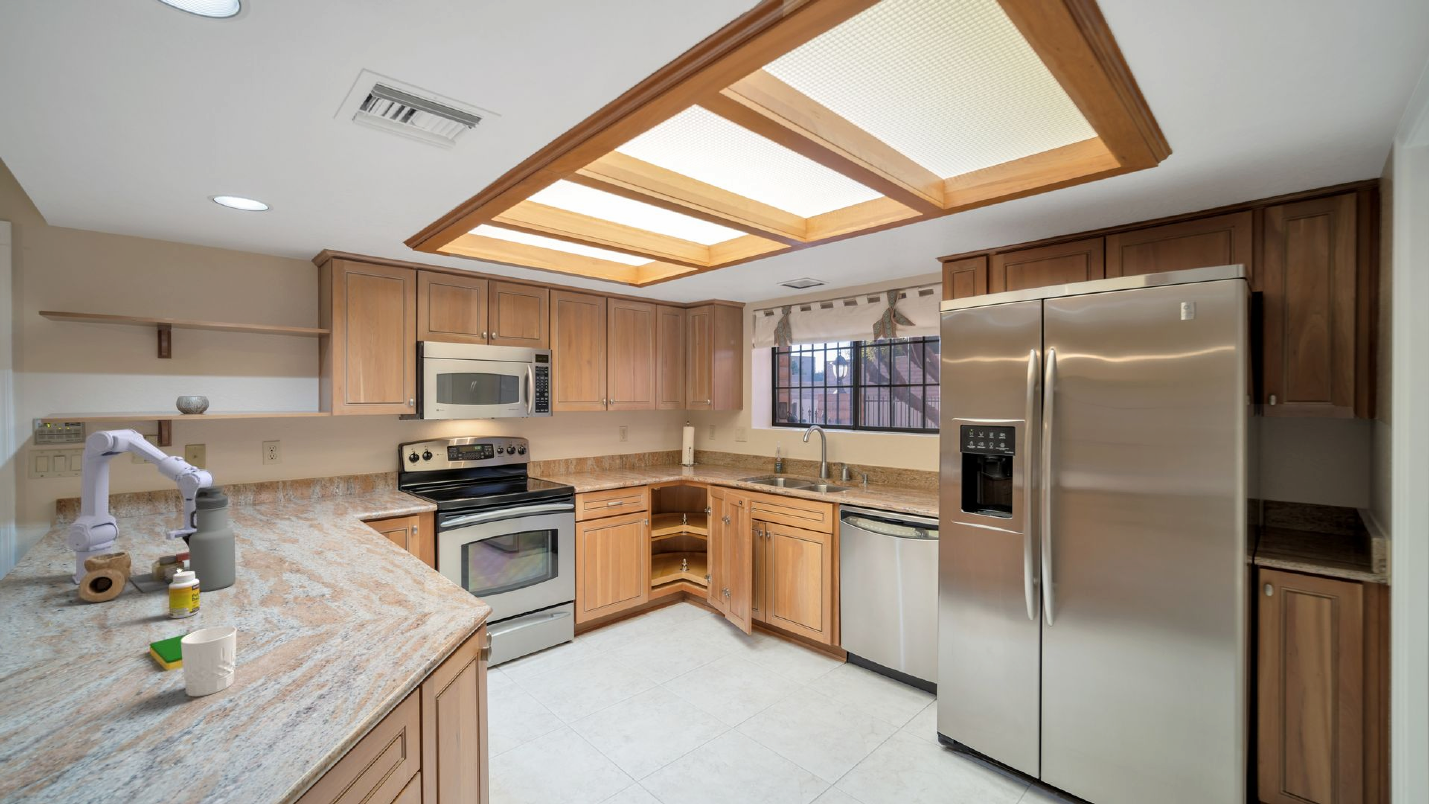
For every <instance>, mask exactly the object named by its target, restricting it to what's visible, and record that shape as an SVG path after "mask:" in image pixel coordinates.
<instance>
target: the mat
mask: <svg viewBox="0 0 1429 804" xmlns="http://www.w3.org/2000/svg"><path fill="white" fill-rule="evenodd" d="M184 571H185V572H186V571H190V566H189V565H188V566H184ZM129 581H130V582H131V583H133V584H134V586H135V587H137V589H138V590H139V591H140V592H141V593H143V594H145V593H149V592H150V591H151V592H156V591H161V590H165V588H166V589H169V584H167V583H166V582H165V581H159V582H156V581H155V580H154V579H153V578H152V572H150V573H144V574H140V575H134V576H130V579H129ZM151 592H150V593H151Z"/></svg>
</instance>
